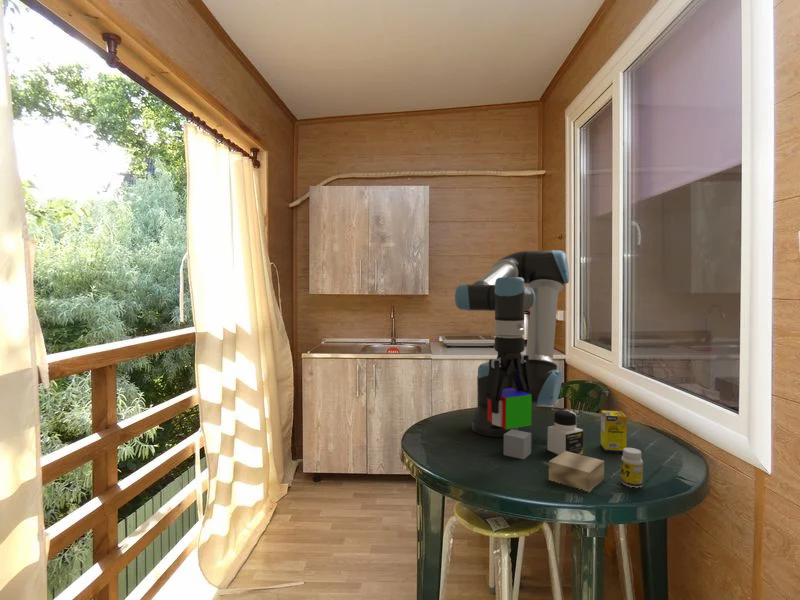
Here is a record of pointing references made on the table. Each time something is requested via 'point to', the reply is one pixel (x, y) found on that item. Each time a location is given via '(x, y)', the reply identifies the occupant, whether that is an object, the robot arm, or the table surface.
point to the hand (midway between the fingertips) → (509, 421)
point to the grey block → (517, 444)
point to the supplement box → (613, 431)
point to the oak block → (576, 470)
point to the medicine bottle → (565, 434)
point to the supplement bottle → (632, 468)
